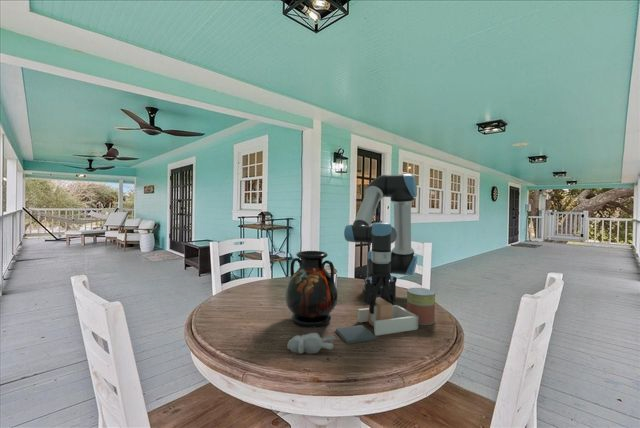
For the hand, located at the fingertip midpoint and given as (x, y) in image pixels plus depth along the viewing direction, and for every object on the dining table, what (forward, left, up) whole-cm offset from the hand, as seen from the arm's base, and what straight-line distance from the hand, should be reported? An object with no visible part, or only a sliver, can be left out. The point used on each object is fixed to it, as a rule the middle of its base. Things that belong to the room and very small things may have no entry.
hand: (380, 320), depth 120 cm
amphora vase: (+24, -14, -3) cm, 28 cm away
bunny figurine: (+32, +11, -3) cm, 34 cm away
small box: (-15, -19, -3) cm, 24 cm away
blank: (0, 0, -2) cm, 2 cm away
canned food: (-20, -1, -3) cm, 20 cm away
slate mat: (+13, +4, -2) cm, 14 cm away
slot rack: (-3, 0, -2) cm, 4 cm away
